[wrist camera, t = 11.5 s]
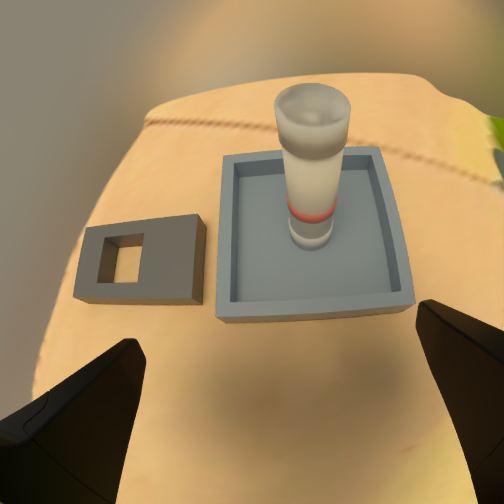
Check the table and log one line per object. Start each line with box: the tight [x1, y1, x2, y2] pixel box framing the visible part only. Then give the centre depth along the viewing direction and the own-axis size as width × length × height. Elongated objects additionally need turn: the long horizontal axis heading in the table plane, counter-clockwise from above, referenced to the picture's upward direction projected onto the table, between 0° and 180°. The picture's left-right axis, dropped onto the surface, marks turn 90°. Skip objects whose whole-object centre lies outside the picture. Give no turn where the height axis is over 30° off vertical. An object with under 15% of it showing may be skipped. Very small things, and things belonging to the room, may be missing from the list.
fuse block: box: [73, 214, 206, 305], centre depth 24 cm, size 7×12×2 cm, turn 90°
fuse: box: [274, 83, 351, 251], centre depth 17 cm, size 3×3×13 cm
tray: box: [216, 147, 416, 323], centre depth 23 cm, size 14×14×3 cm
